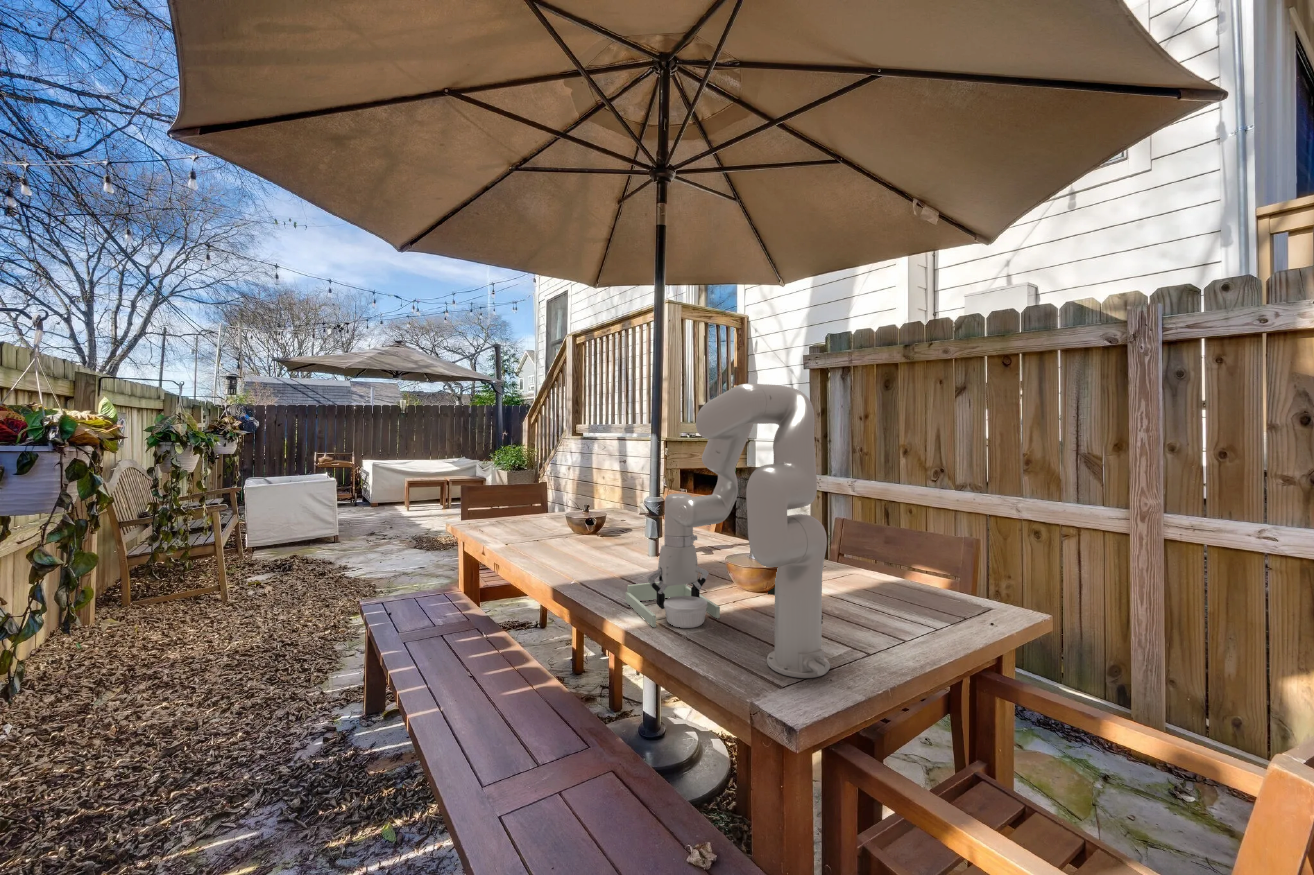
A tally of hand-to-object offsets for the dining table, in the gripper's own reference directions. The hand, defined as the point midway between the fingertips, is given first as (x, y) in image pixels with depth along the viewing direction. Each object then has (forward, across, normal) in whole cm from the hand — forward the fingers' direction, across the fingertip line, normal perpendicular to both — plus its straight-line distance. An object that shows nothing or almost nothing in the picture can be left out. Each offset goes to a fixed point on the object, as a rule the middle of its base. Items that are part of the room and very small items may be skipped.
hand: (678, 605), depth 145 cm
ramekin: (+3, 0, +5) cm, 6 cm away
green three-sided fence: (+3, 0, -5) cm, 6 cm away
